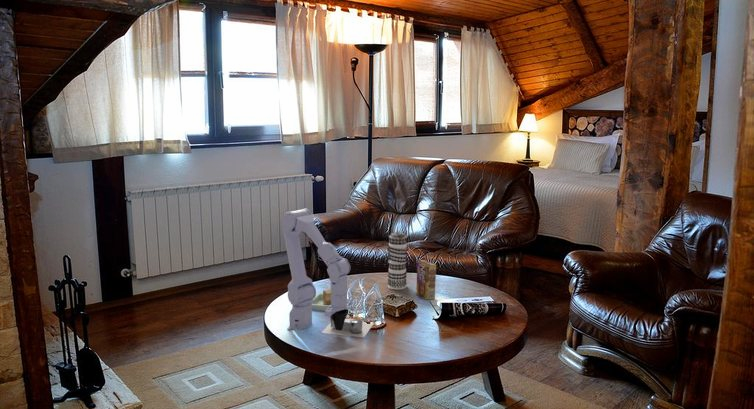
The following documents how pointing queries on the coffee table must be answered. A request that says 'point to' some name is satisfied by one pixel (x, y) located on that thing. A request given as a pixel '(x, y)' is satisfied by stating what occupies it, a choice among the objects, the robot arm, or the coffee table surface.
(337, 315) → the robot arm
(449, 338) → the coffee table surface
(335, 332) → the board
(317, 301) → the tray
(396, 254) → the patterned cylinder
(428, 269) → the candy box
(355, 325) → the crank
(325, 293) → the block
